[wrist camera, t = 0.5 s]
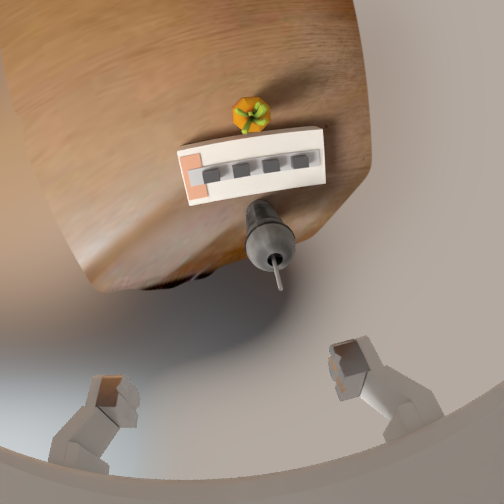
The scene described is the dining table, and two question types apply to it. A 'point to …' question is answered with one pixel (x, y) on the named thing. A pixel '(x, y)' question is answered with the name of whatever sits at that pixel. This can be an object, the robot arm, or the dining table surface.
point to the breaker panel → (252, 163)
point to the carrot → (251, 114)
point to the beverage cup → (268, 239)
